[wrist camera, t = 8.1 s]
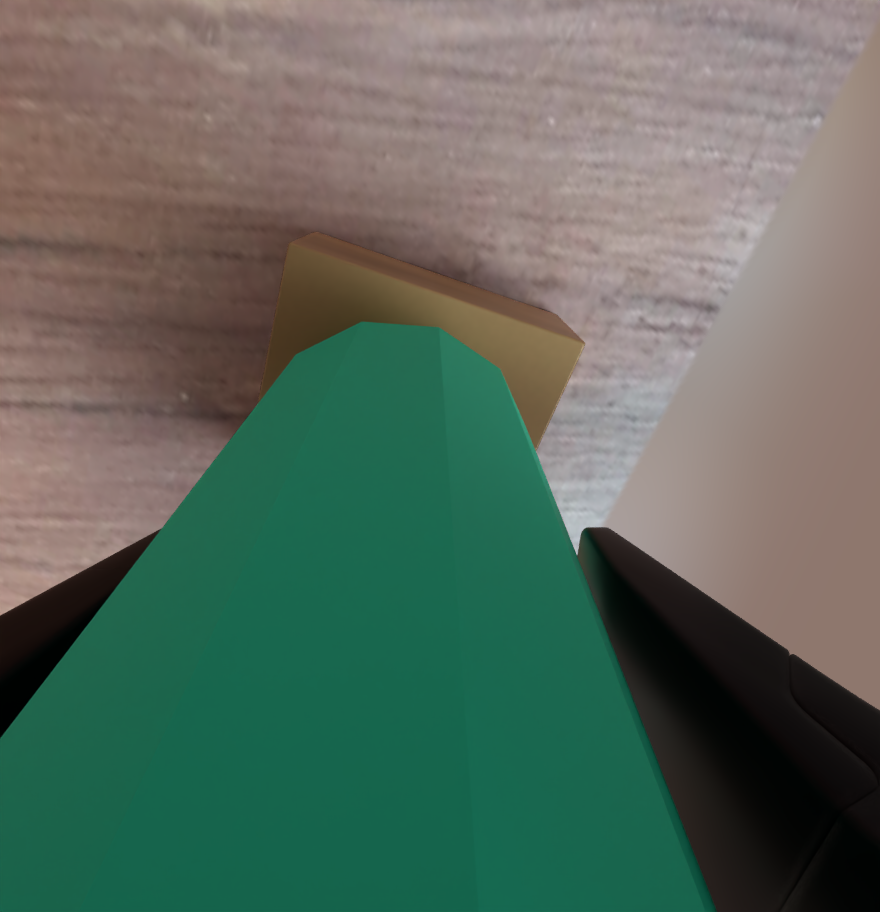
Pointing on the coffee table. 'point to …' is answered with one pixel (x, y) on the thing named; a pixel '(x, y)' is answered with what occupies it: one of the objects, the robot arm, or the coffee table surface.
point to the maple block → (419, 319)
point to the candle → (349, 679)
